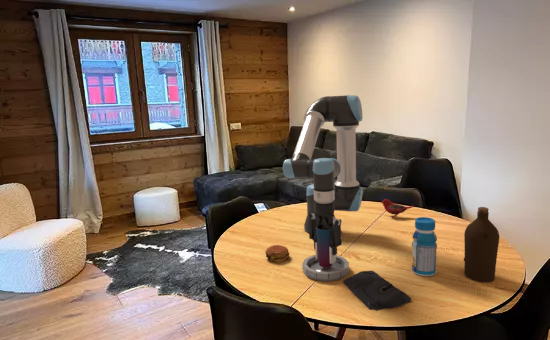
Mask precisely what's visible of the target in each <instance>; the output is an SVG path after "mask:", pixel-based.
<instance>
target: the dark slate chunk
mask: <svg viewBox="0 0 550 340" xmlns="http://www.w3.org/2000/svg"><path fill="white" fill-rule="evenodd" d="M342 283H343V284H344V285H345V286H346V287H347V289H349V290H350V292H351V293H352V294H353V295H354V296H355V297H356V298H357V299H358V300H359V301H360V302H361V303H362V304H363V305H364V306H365V307H366V308H367V309H368V310H370V311H371V310H374V311H377V312H378V311H381V310H386V309H388V310H389V309H395V308H396V309H397V308H398V307H403V305H406V304H408V303H409V302H412V297H410V296H409V295H408V294H407V292H405V291H403V290H401V289H400V288H397V286H394V285H393V283H391V282H390V281H388V280H387V279H385V278H384V277H382V276H381V275H379V273H377V272H375V270H363V271H362V270H361V271H360V272H358V273H355V274H354V275H352V276H349V277H345V279H344V280H343V281H342Z"/></svg>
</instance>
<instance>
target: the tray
mask: <svg viewBox="0 0 550 340" xmlns="http://www.w3.org/2000/svg"><path fill="white" fill-rule="evenodd" d="M301 266H302V270H303V274H304V275H305V276H306V277H307V278H309V279H311V280H314V281H319V282H335V281H340V280H343V279H344V278H347V276H348V275H349V271H350V270H349V268H350V262H349V261H348V260H347V259H346V258H345V257H344V256H340V255H338V254H336V262H334V263H333V265H332V266H331V267H321V266H320V265H319V258H318V259H316V254H312V255H310V256H308V257H306V258H304V259H303V261H302V265H301Z"/></svg>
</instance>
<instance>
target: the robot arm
mask: <svg viewBox="0 0 550 340" xmlns="http://www.w3.org/2000/svg"><path fill="white" fill-rule="evenodd" d="M363 117H364V116H363V108H362V102H361V99H360V97H359V96H357V95H351V94H348V95H347V94H346V95H331V96H329V95H328V96H327V95H326V96H323V97H320V98H318V99H316V100H315V101H313V103H311V104H310V105H309V106H308V108H307V109H306V111H305V113H304V116H303V121H304V122H303V125H302V128H301V131H300V134H299V137H298V140H297V143H296V146H295V149H294V152H293V154H292V157H291V158H288V159H287V158H286V159H285V160H284V161H283V164H282V172H283V176H284V177H285V178H289V179H309V180H310V179H311V180H313V183H312V184H310V185H308V186H307V187H306V210H307V211H306V212H307V213H306V218H305V221H304V225H303V229H304V231H305V232H306V233H308V234H309V235H308V237H309V239H310V240H312V241H313V249H314V251H315V252H314V253H315V255H316V259H318V258H319V256H318V245H317V234H316V226H317V228H318V229H321V230H322V227H323V225H324V226H325V228H326V229H327V230H330V229H333V227H334V230H333V231H330V233H329V239H330V243H331V246H330V247H329V253H330V264H332V263H334V262H336V255H338V247H340V246H342V245H343V241H342V227H341V226H342V225H341V224H342V223H343V221H342V219H341V218H339V219H338V218H336V216H335V211H337V212H339V211H340V212H349V213H350V212H358V211H359V210H360V208H361V206H362V201H363V194H364V193H363V192H364V191H363V190H364V189H363V187H362V186H360V182H359V180H357V175H356V174H357V169H356V168H357V163H356V162H357V156H356V155H357V154H356V153H357V152H356V151H357V146H356V145H357V143H356V142H357V139H356V138H357V137H356V129H357V128H358V127H359V126H360V122H362V121H363ZM325 123H332V127H333V128H334V129H335V130H336V158H334V157H330V158H329V157H321V158H320V157H319V158H314V159H312V156H313V154H314V150H315V148H316V147H315V146H316V143H317V140H318V138H319V134H320V131H321V127H323V126H324V124H325ZM336 178H337V180H336V181H335V179H336ZM329 225H330V226H329Z"/></svg>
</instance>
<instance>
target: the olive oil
mask: <svg viewBox="0 0 550 340" xmlns="http://www.w3.org/2000/svg"><path fill="white" fill-rule="evenodd" d="M499 244H500V233H499V229H498V228H497V227H496V226H495V225H494V224H493V223H492V221H491V220H490V219H489V208H488V207H484V206H480V207H477V215H476V218H475V219H474V220H473V221H472V222H470V223H469V224H468V225H467V226H466V228H465V230H464V257H463V262H464V270H463V272H464V276H465V277H466V278H467V279H469V280H470V281H474V282H479V283H491V282H493V281H494V280H495V278H496V277H495V276H496V269H497V259H498V252H499V251H498V250H499Z"/></svg>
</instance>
